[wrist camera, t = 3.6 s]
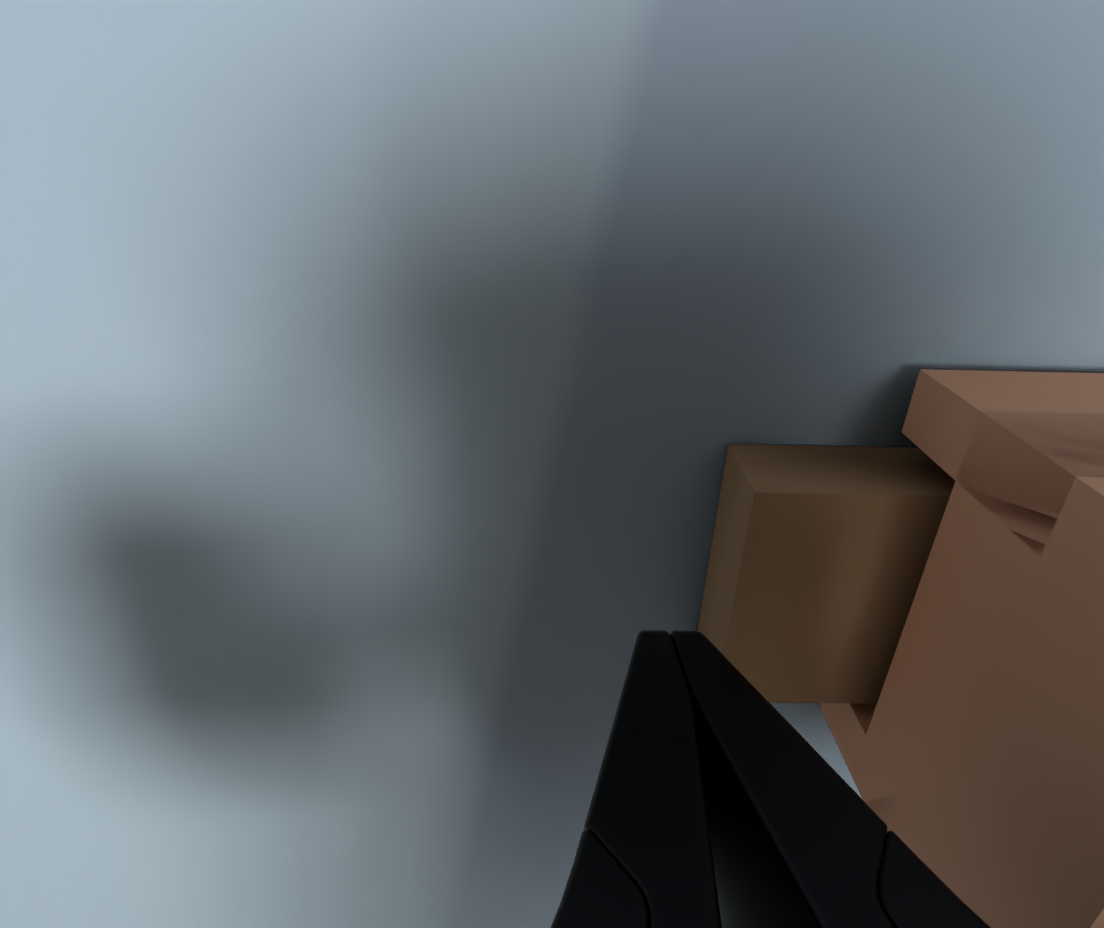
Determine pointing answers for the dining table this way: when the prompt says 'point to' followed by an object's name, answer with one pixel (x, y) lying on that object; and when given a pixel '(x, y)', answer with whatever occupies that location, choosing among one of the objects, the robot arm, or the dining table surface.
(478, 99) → the dining table surface
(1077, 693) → the block
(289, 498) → the dining table surface
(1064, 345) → the dining table surface
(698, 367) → the dining table surface
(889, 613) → the rail
